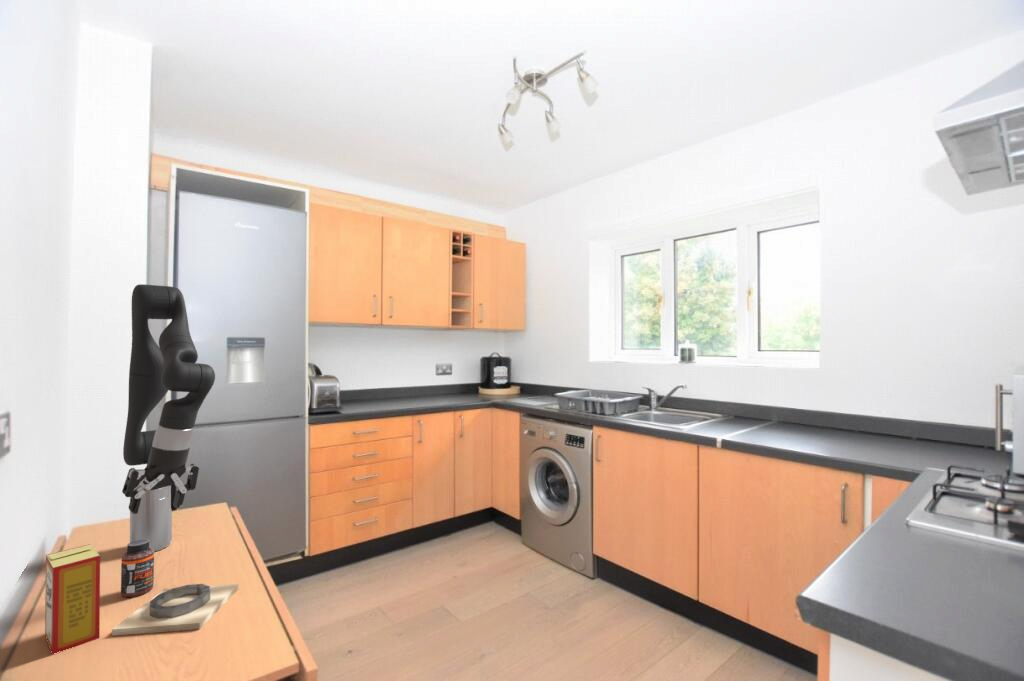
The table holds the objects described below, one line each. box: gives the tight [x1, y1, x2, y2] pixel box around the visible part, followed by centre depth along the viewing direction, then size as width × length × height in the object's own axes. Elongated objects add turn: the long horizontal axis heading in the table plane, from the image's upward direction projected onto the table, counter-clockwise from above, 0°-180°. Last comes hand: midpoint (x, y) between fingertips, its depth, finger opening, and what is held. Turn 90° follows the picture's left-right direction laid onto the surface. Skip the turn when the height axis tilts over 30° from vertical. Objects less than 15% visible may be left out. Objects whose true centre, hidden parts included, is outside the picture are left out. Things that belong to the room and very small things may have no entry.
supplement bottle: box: [120, 539, 155, 598], centre depth 108 cm, size 6×6×11 cm
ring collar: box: [150, 583, 211, 619], centre depth 100 cm, size 10×10×2 cm
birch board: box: [111, 583, 239, 636], centre depth 100 cm, size 16×16×1 cm
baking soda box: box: [44, 544, 101, 655], centre depth 91 cm, size 10×6×16 cm
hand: (155, 509), depth 112 cm, fingers open, 8 cm apart
